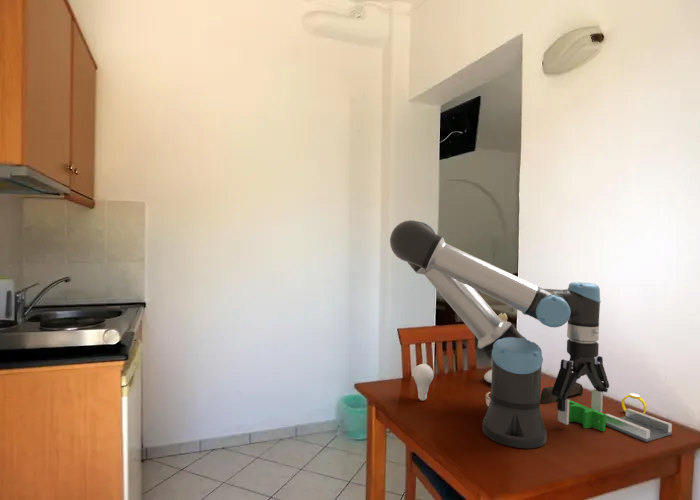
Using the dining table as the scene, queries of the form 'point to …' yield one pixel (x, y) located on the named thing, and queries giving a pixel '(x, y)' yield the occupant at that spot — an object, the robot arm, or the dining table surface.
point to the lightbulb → (423, 379)
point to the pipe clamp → (586, 416)
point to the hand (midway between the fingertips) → (580, 418)
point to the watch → (634, 398)
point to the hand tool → (548, 397)
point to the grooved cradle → (639, 425)
